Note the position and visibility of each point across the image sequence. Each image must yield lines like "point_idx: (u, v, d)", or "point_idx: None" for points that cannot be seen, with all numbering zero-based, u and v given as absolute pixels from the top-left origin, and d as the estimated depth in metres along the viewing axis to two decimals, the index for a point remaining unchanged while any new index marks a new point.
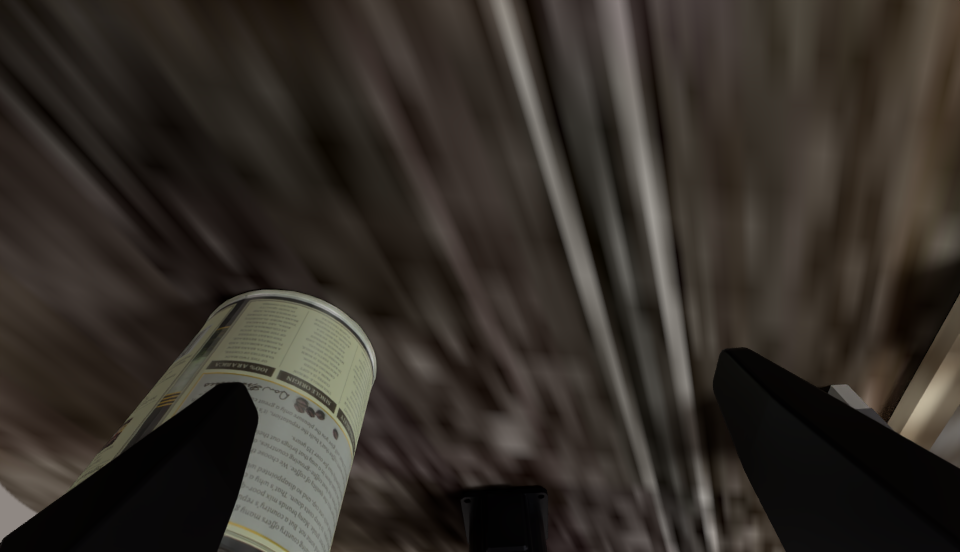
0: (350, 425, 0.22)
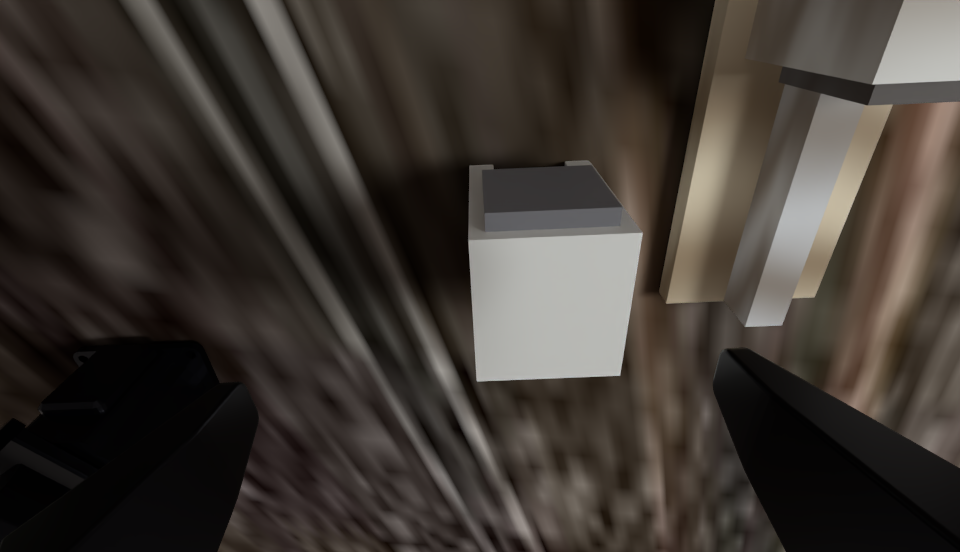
0: None
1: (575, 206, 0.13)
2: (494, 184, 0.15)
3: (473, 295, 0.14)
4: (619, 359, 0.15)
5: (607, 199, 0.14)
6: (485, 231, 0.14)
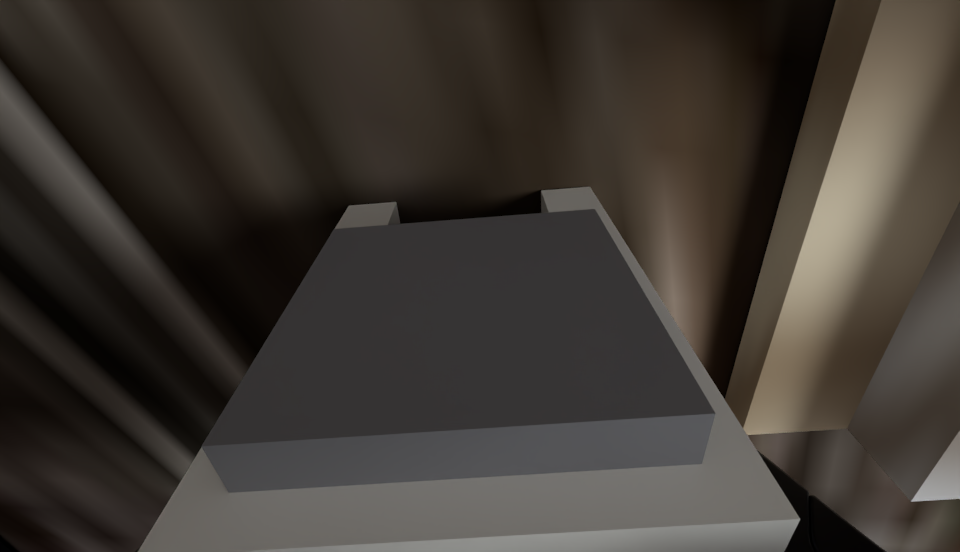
0: None
1: (537, 404, 0.04)
2: (331, 282, 0.06)
3: None
4: None
5: (649, 356, 0.04)
6: (231, 490, 0.04)
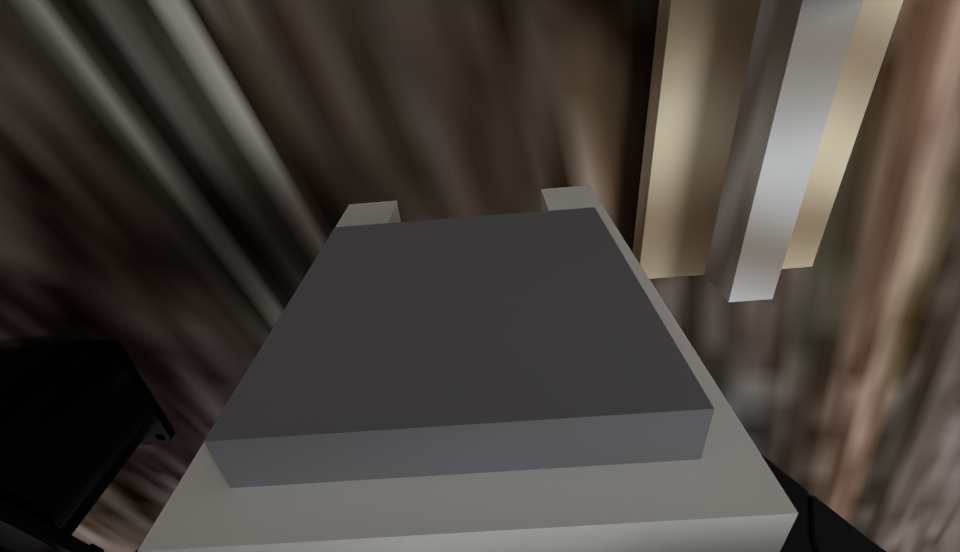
0: None
1: (538, 400, 0.04)
2: (332, 280, 0.06)
3: None
4: None
5: (649, 354, 0.04)
6: (233, 485, 0.04)
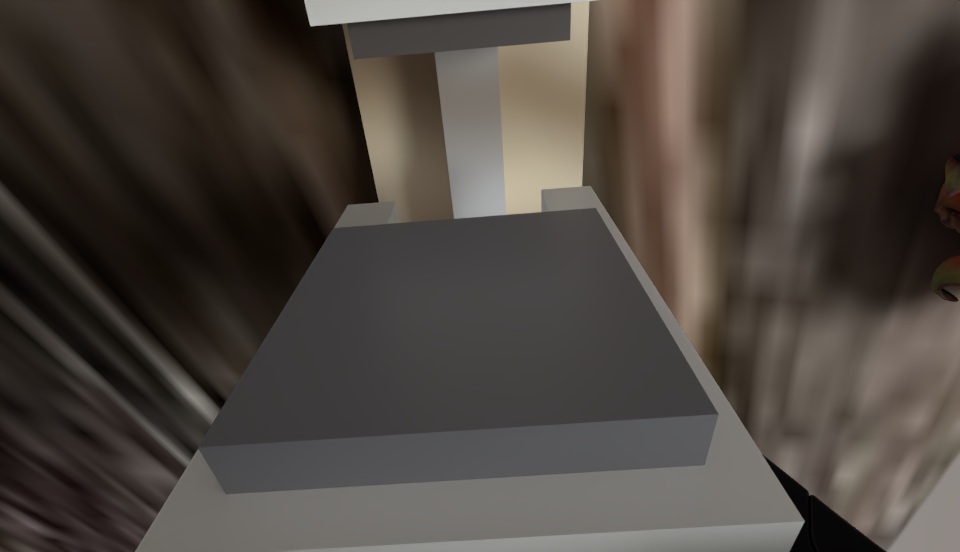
0: None
1: (538, 405, 0.04)
2: (330, 281, 0.06)
3: None
4: None
5: (652, 356, 0.04)
6: (228, 491, 0.04)
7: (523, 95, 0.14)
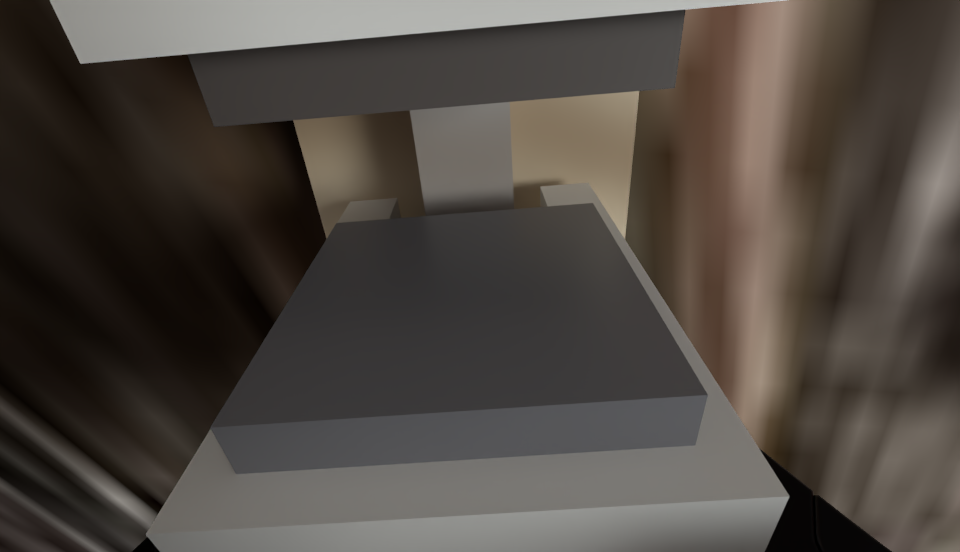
0: None
1: (536, 387, 0.04)
2: (334, 273, 0.06)
3: None
4: None
5: (646, 342, 0.04)
6: (237, 471, 0.04)
7: (543, 140, 0.10)
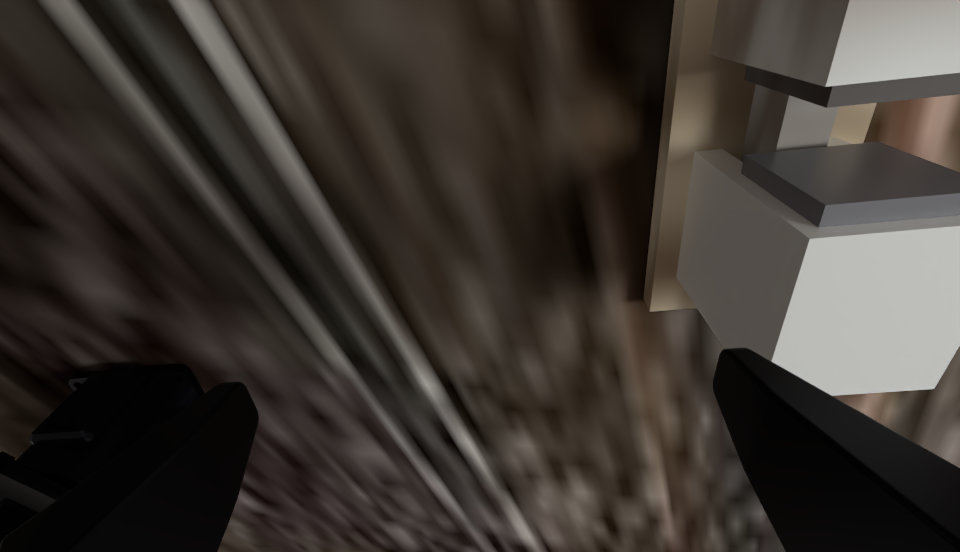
0: None
1: (936, 191, 0.11)
2: (786, 170, 0.13)
3: (792, 303, 0.12)
4: (940, 370, 0.13)
5: None
6: (818, 227, 0.11)
7: None
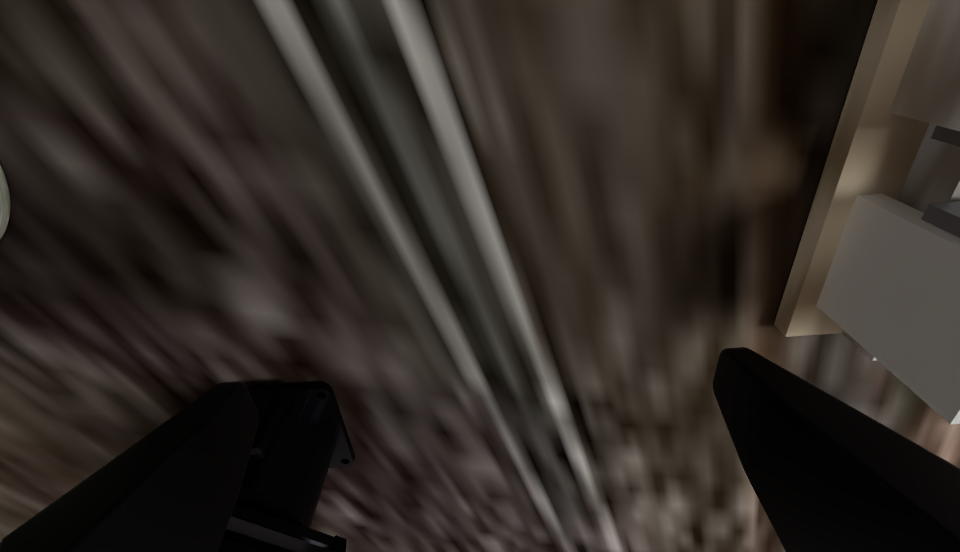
0: None
1: None
2: None
3: None
4: None
5: None
6: None
7: None
